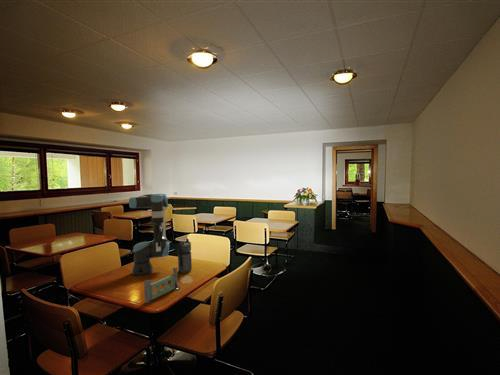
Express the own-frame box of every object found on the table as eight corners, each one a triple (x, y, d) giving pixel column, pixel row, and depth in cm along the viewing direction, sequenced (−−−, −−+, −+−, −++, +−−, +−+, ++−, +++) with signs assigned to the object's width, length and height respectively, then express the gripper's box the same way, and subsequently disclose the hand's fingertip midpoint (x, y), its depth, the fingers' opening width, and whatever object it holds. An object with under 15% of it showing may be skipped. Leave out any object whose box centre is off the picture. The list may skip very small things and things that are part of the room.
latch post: (143, 302, 147) (143, 281, 146) (148, 300, 149) (148, 279, 149) (147, 304, 145) (146, 282, 144) (151, 301, 148) (151, 280, 147)
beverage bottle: (174, 274, 190) (173, 242, 189) (183, 268, 202) (182, 237, 201) (185, 275, 187) (184, 242, 186) (194, 269, 199) (193, 238, 198)
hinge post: (169, 289, 164) (168, 267, 163) (176, 285, 169) (175, 264, 168) (175, 291, 160) (174, 269, 160) (182, 287, 165) (181, 266, 165)
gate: (172, 287, 164) (172, 274, 164) (175, 288, 162) (174, 275, 162) (149, 298, 149) (148, 284, 149) (152, 299, 148) (151, 285, 147)
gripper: (148, 216, 171) (149, 250, 172) (155, 218, 161) (157, 254, 162) (158, 215, 176) (160, 247, 177) (166, 217, 166) (167, 251, 167)
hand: (158, 251), depth 170 cm, fingers closed
